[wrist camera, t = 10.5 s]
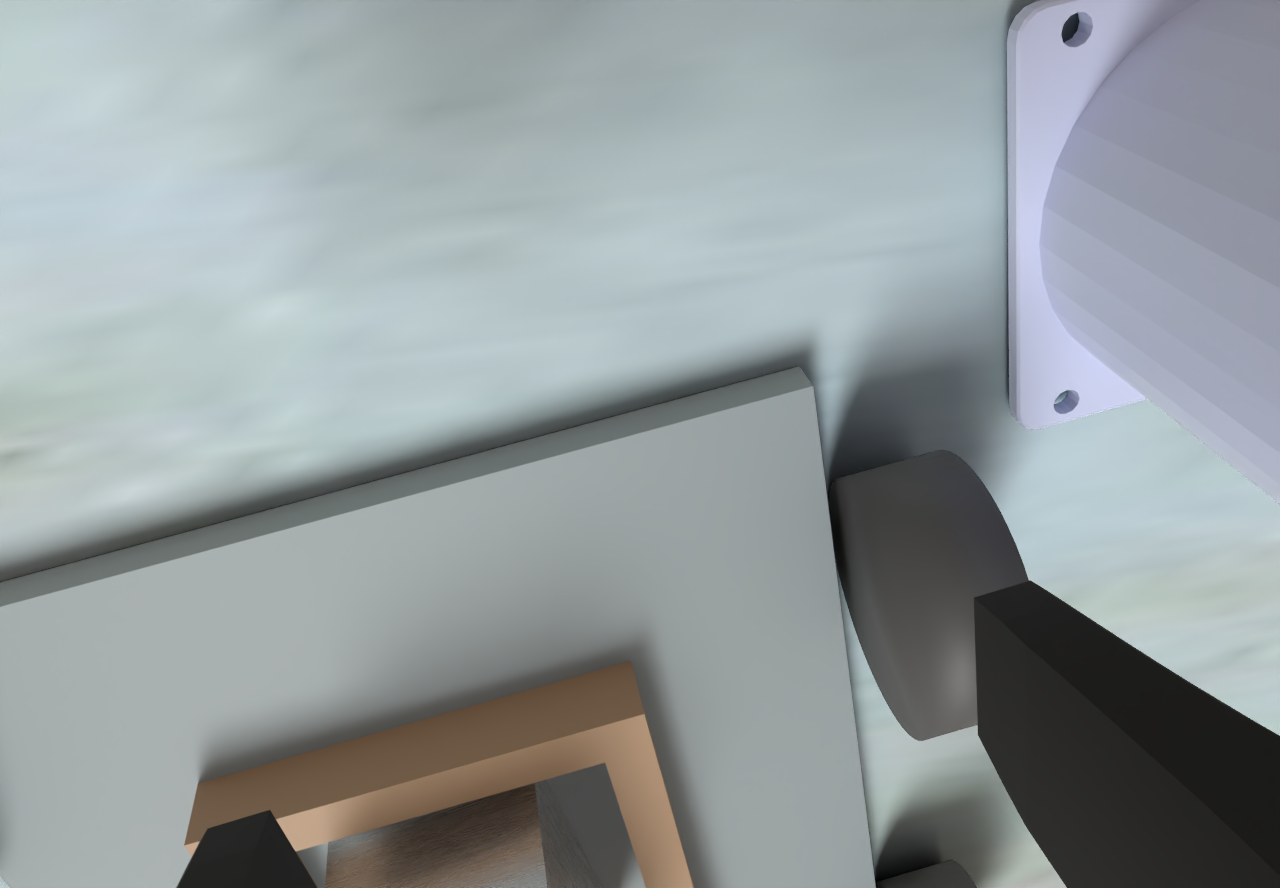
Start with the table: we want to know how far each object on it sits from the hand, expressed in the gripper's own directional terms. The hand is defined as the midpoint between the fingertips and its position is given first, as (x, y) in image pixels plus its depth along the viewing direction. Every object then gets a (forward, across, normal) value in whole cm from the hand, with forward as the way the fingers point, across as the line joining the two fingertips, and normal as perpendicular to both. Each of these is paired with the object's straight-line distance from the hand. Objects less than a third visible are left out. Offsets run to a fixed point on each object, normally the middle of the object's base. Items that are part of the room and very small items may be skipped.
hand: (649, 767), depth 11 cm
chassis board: (+10, +4, +12) cm, 16 cm away
